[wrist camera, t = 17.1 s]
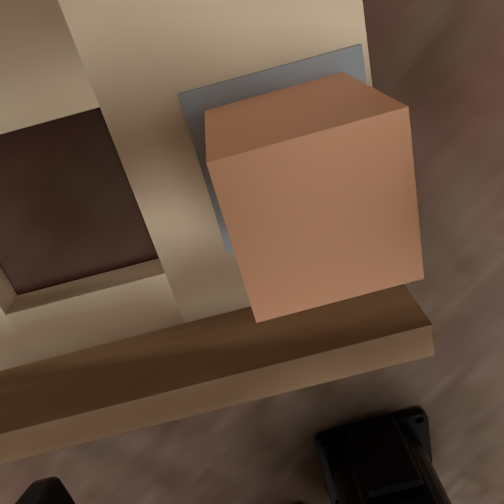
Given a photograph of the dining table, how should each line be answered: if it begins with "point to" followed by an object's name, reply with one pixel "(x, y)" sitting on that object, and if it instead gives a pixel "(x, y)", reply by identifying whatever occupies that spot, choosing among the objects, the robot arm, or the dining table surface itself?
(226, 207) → the block
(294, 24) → the puzzle board
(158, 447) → the dining table surface
